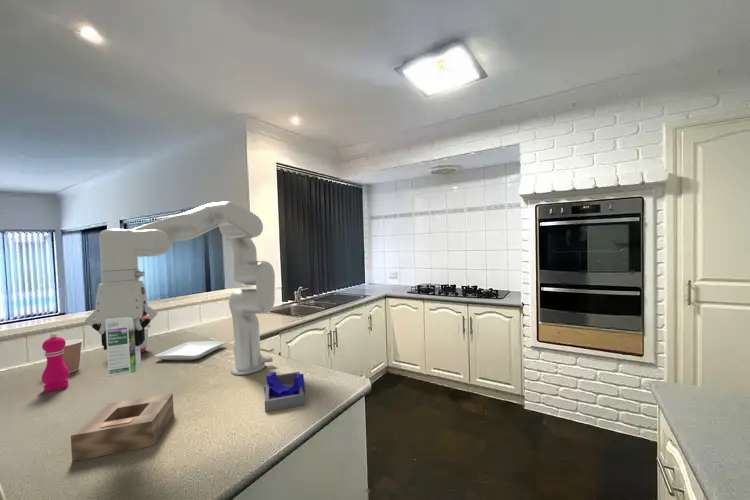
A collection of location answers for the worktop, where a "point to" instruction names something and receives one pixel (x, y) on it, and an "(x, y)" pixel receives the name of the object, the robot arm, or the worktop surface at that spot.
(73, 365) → the coffee cup
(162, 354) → the salad plate
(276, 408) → the clip frame
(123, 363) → the syrup box
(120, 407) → the socket block
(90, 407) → the worktop surface
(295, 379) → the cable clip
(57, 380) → the pepper mill
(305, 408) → the worktop surface
